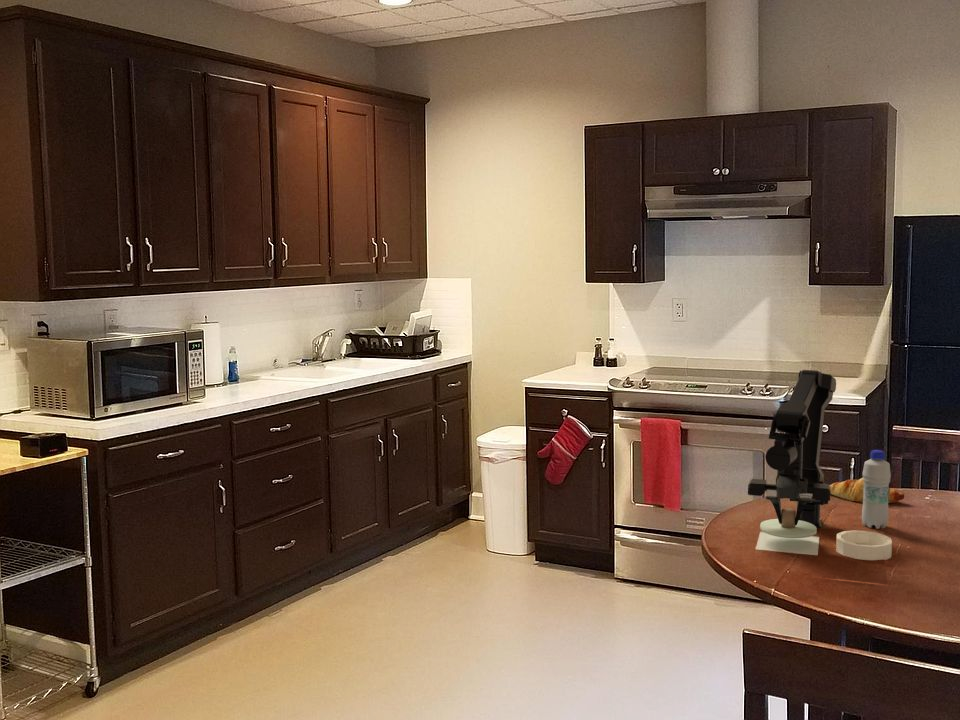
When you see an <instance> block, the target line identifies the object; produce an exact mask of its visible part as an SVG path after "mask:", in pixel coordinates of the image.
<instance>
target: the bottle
mask: <svg viewBox="0 0 960 720" xmlns="http://www.w3.org/2000/svg"><path fill="white" fill-rule="evenodd" d="M885 454H886V453H885V451H884V450H881V449H873V450H871V451H870V454H869V455H870V458H869V459H868V460H866V461H864V464H863V468H862V469H863V470H862V473H861V474H862V475H861V476H862V477H861V478H862V479H863V481H864V491H863V502H862V508H861V509H862V510H861V522H862V525H863V526H864V527H868V528H869V529H871V528H873V526H875V529H878V530H879V529H882V530H883V529H884V530H885V528H886V527H887V525H888V522H889V503H888V494H889V489H890V487H889V485H890V483H891V477H892V475H891V466H890V465H891V464H890V463H889V462H888V461H886V460H885V458H886V455H885Z"/></svg>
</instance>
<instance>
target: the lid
mask: <svg viewBox="0 0 960 720" xmlns="http://www.w3.org/2000/svg"><path fill="white" fill-rule="evenodd" d="M796 512H797V510H796V509H793V508H781V513H782V517H781V524H779V520H778V518H773V519H772V518H771V519H766V520H763V521H761V522H760V525H759V529H760V530H761V531H760V532H764V533H766V534H769V535H772V536H777V537H783V538H806V537H811V536H815V535H816V534H817V530H818V528H816V526H814V525H813V524H811V523H808V522H805V521H801V520H799V521H798V523H797V525H795V518H796Z"/></svg>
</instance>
